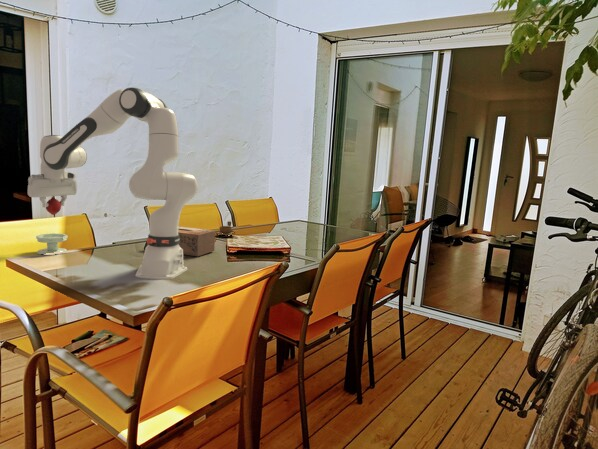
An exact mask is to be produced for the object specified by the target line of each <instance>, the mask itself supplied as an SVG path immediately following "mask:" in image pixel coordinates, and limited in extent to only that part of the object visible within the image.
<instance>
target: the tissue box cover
mask: <svg viewBox="0 0 598 449" xmlns="http://www.w3.org/2000/svg"><path fill="white" fill-rule="evenodd" d="M215 232H216V231H215V230H214V229H213V230H211V229H202V228H197V227H196V228H195V227H190V226H189V227H187V226H180V225H179V228H178V234H179V238H180V240H179V246H180V247H181V248H182V249H183V255H185V256H186V255H187V256H192V257H193V256H194V257H200V256H203V255H206V254H209V253H212V252H215V242H216V240H215V237H216V233H215Z"/></svg>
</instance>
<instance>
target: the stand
mask: <svg viewBox="0 0 598 449" xmlns="http://www.w3.org/2000/svg"><path fill="white" fill-rule="evenodd" d="M68 237H69V236H68V234H65V233H54V232H53V233H43V234H41V233H40V234H39V235H36V238H35V239H36V240H37V242H38V243H42V244H44V243H45V244H46V247H45V248H43V249H39V250H37V255H39V254H46V253H54V252H63V251H67V252H68V250H67V249H68V248H67V249H66V248H64V247H59V245H58V244H59V243H63V242H66V241H67V239H68Z"/></svg>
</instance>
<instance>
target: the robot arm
mask: <svg viewBox="0 0 598 449" xmlns="http://www.w3.org/2000/svg"><path fill="white" fill-rule="evenodd" d="M131 117H133V118H135V119H138V120H139V121H142V122H145V123H147V124H148V125H147V126H148V152H147V157H146V160H145V162H144V163H143V165H142V167H141V168H140V169H138V170H137V171H136V172H134V173H132V175H131V177H130V179H129V182H128V189H129V191H130V193H131V194H132V196H133V197H134V198H138V199H143V200H151V201H154V200H156V201H157V200H158V201H159V200H161V201H165V203H164V205H163V206H161V207H160V208H157V209H155V210H153V211H151V212H152V213H150V215H149V219H148V220H149V221H148V223H149V229H148V231H149V232H148V235H147V238H146V243H147V246H146V247H145V250H144V254H143V257H142V259H141V261H142V262H141V264H140V265H139V266H138V269H137V271H136V273H135V277H136V278H140V279H148V280H172V279H173V280H174V278H176V277H178V276H180V275H182V274H183V273H185V272H187V271H188V267H187V266H185V265H184V254H183V249H182V248H181V247H180V246H179V240H180V238H179V234H178V228H179V226H180V225H179V224H180V216H181V214H182V213H181V212H182V210H183V209H184V207H185V206H186V204H187V203H188V202H189V201H191V200H193V199H194V198H195V196H196V195H197V193H198V190H199V184H198V180H197V179H196V176H194V175H193V174H189V173H185V172H181V171H179V172H177V171H176V172H175V171H164V170H163V169H164V166H166V165H168V164H170V163H172V162H173V161H175V160H177V158H178V157H179V154H180V153H179V152H180V151H179V149H180V148H179V126H178V121H177V116H176V114H175V112H174V111H173V110H172V109H170V108H168V106H167V104H166V103H165V102H164V101H163V100H162V99H160V98H157V97H156V96H154V95H153V94H151V93H150V92H147V91H145V90H142V89H141V88H137V87H127V88H124V89H123V88H122V89H121V88H119V89H117V90H115V91H114V92H112V93H111V94H109V96H107V97H106V98H105V99H104V100H103V101H101V103H100V104H99V105H98V106H97V107H96V108H95V109H94V110H93V111H92V112H91V113H89V114H88V115H87V116H86V117H85V118H83V119H81V121H79V122H78V123H77V124H76V125H75V126H73V127H72V128H71V129H70V130H69V131H68V132H66V133H65V134H64V135H63V136H62V135H59V134H57V135H56V134H50V135H44V136H43V137H42V138H41V140H40V144H39V157H40V159H41V162H40V173H39V174H31V175H30V176H28V179H27V182H28V183H27V184H28V185H27V195H28V196H29V197H30V198H39V201H41V204H42V205H41V206H42V208H46V207H49V206H48V203H47V201H46V200H47V197H60V198H61V199H60V201H59V202H60V204H61V207H65V201H66V200H67V196H75V195H77V193H78V184H77V180H76V177H77V175H76V173H74V172H71V171H67V170H65V169H77V168H81V167H83V166H85V164H86V162H87V160H88V156H87V151H86V150H85V149H84V147H82V146H81V145H83V143H85V142H86V141H87V140H89V139H92V138H93V137H94V138H95V137H98V136H103V135H108V134H112V133H115V132H116V131H117V130H119V129H120V128H121V127H122V126H123V125H124V124H125V123H126V122H127V121H128V120H129V119H130V118H131Z"/></svg>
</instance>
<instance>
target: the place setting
mask: <svg viewBox="0 0 598 449" xmlns="http://www.w3.org/2000/svg"><path fill="white" fill-rule="evenodd" d="M218 231H220V232H221V233H217V232H218ZM230 232H234V233H232V234H235V235H236V231H233V230H232V221H227V225H220V226H219V230H216V231H215V235H217V234H220V235H228V233H230ZM222 233H223V234H222Z"/></svg>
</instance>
